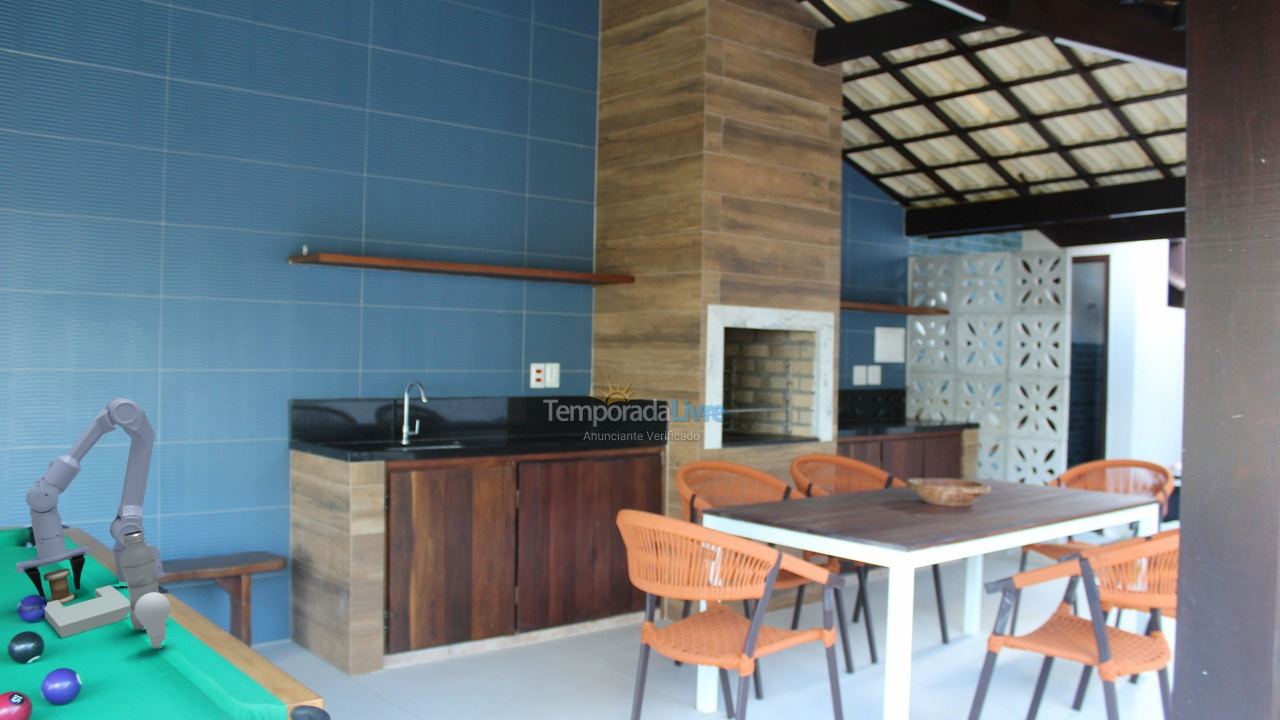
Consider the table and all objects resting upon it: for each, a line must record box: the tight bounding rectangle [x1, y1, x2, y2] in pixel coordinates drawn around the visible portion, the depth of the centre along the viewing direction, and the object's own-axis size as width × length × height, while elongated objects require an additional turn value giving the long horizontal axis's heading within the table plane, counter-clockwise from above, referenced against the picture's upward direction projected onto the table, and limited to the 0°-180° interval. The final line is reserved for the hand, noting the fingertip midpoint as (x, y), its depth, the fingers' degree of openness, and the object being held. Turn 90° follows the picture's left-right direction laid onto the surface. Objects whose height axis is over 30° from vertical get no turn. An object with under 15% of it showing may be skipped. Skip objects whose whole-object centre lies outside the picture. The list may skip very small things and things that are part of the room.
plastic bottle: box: [120, 531, 160, 631], centre depth 201 cm, size 6×7×20 cm
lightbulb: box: [134, 592, 171, 650], centre depth 189 cm, size 6×6×11 cm
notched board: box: [44, 584, 131, 639], centre depth 215 cm, size 22×14×2 cm, turn 40°
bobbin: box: [43, 568, 76, 605], centre depth 227 cm, size 5×5×7 cm
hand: (60, 593), depth 228 cm, fingers open, 6 cm apart
